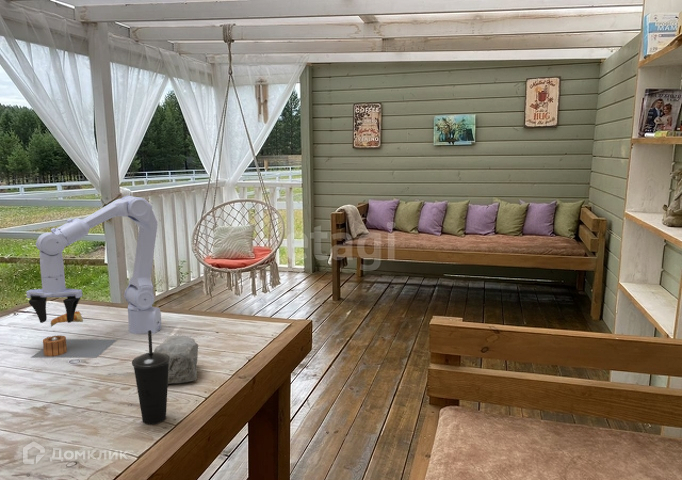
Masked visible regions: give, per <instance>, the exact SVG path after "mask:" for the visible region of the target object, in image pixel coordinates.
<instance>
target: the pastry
mask: <svg viewBox="0 0 682 480" xmlns="http://www.w3.org/2000/svg"><path fill="white" fill-rule="evenodd" d="M83 320H84V318H83V316H82V314H81V312H80V310H78V311H77V310H75V314H74V320H73V321H72V322H71V323H74V322H75V323H83ZM60 323H68V322H67V313H66V312H65V313H64V314H62V315H58V316H57V317H55V318H53V319H51V321H50V326H53V327H54V326H55V325H57V324H60Z"/></svg>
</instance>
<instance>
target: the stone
mask: <svg viewBox="0 0 682 480" xmlns="http://www.w3.org/2000/svg"><path fill="white" fill-rule="evenodd" d="M198 350H199V344H198V343H197V342H196V340H195V339H194V338H191V337H189V336H188V335H187V336H186V335H170V336H167V337H166V338H165V340H164V341H163V342H162V343H161V344H159V345H157V346H156V347H155V348H154V349H153V352H159V353H164V354H167V355H169V356H170V361H169V368H168V385H170V384H182V383H189V382H194V381H196V380H197V379H198V372H197V371H198V369H197V367H198V366H197V364H198V356H199V355H198V354H199V353H198Z"/></svg>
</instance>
